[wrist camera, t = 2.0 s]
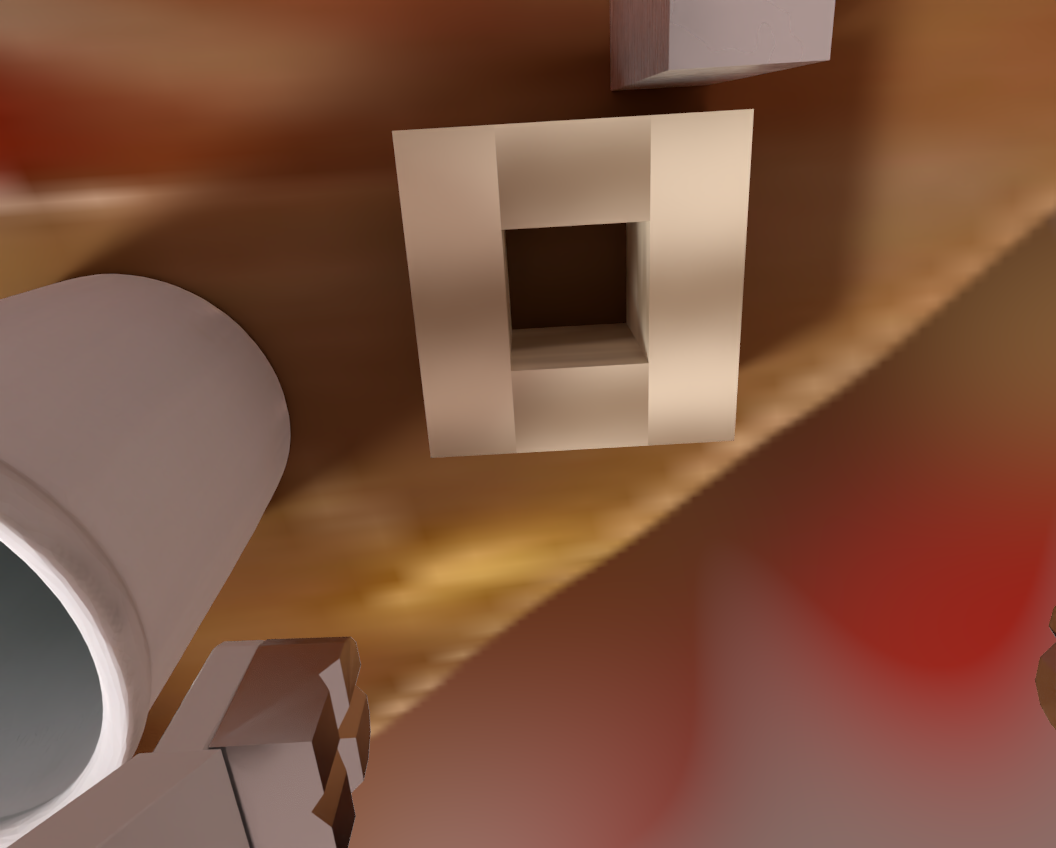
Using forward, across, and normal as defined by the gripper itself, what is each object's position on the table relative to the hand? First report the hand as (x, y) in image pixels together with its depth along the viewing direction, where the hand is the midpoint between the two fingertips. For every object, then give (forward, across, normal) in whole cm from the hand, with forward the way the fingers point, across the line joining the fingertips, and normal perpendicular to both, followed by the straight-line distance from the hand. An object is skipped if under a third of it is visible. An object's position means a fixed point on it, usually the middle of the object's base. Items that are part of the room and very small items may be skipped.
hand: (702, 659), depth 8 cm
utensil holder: (+25, +20, +6) cm, 33 cm away
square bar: (+25, -4, -9) cm, 27 cm away
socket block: (+25, 0, 0) cm, 25 cm away
